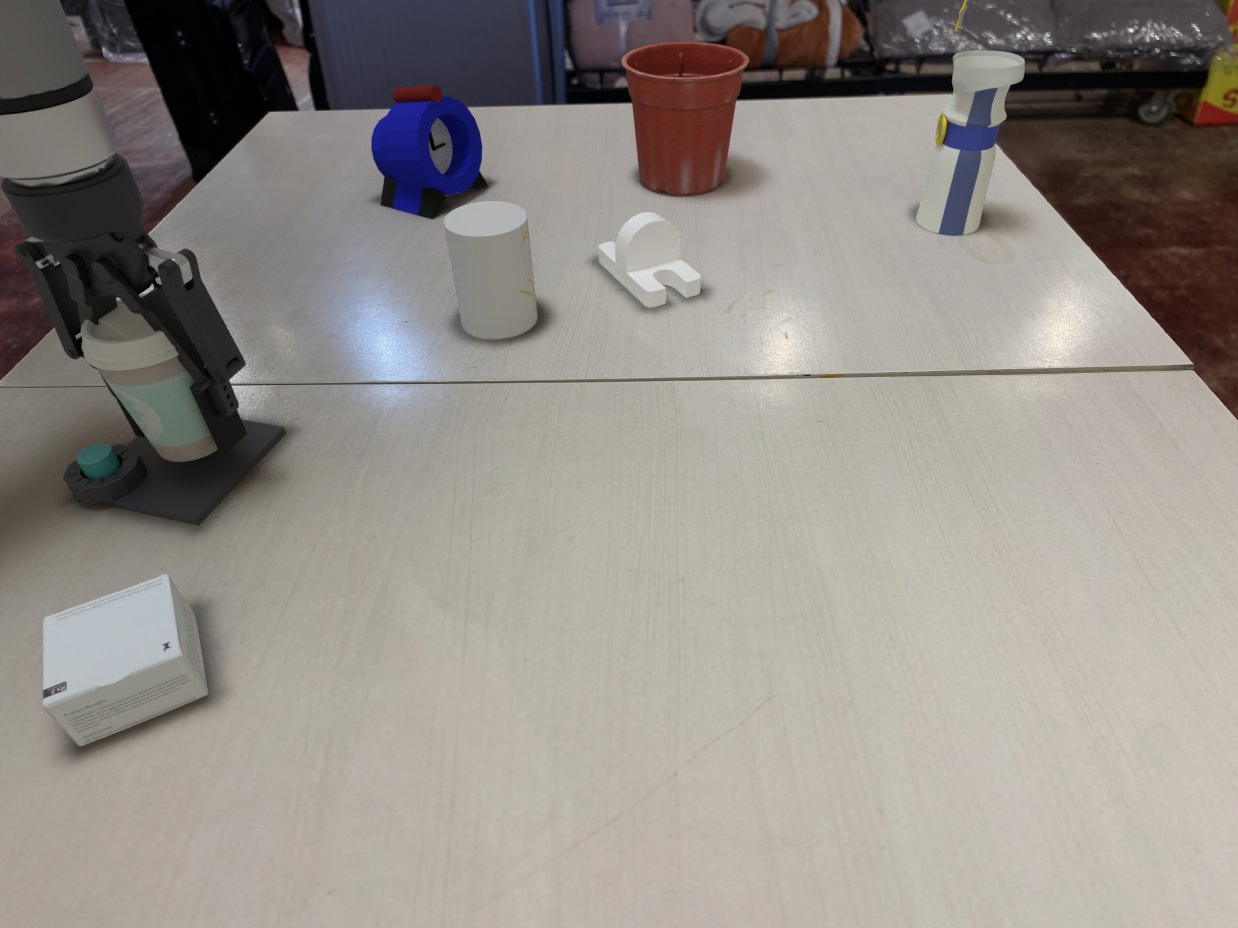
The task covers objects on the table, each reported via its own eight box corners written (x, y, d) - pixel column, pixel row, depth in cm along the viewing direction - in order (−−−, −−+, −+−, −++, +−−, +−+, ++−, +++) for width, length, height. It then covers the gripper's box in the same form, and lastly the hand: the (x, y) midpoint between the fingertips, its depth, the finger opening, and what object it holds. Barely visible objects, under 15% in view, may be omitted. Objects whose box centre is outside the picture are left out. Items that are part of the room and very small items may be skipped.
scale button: (78, 476, 65) (68, 460, 64) (102, 456, 67) (92, 440, 66) (104, 482, 65) (94, 466, 64) (127, 461, 67) (118, 445, 65)
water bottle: (915, 235, 100) (968, 10, 84) (909, 207, 106) (957, -8, 90) (985, 239, 99) (1052, 11, 82) (975, 210, 105) (1035, -7, 89)
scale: (65, 508, 66) (47, 482, 64) (171, 417, 75) (158, 391, 74) (195, 538, 63) (180, 510, 61) (288, 439, 73) (278, 412, 71)
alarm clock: (436, 220, 107) (414, 101, 97) (369, 202, 112) (342, 88, 102) (493, 187, 115) (478, 75, 105) (428, 172, 120) (408, 63, 110)
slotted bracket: (703, 298, 90) (706, 233, 85) (648, 314, 87) (648, 247, 82) (647, 252, 99) (647, 190, 93) (596, 265, 96) (593, 202, 91)
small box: (198, 617, 57) (170, 569, 54) (213, 701, 52) (183, 654, 49) (77, 662, 55) (40, 614, 51) (80, 755, 50) (38, 709, 46)
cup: (547, 334, 85) (537, 227, 77) (472, 352, 83) (454, 243, 75) (525, 299, 91) (514, 195, 83) (454, 314, 88) (435, 209, 80)
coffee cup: (143, 423, 70) (79, 301, 62) (246, 400, 72) (197, 280, 65) (136, 484, 64) (64, 358, 56) (248, 458, 66) (194, 333, 58)
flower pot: (708, 213, 107) (715, 84, 96) (602, 190, 113) (598, 67, 103) (757, 170, 117) (768, 50, 107) (657, 152, 124) (658, 37, 113)
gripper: (229, 156, 53) (321, 427, 68) (-12, 134, 58) (124, 391, 73) (150, 202, 48) (269, 484, 63) (-109, 173, 53) (59, 442, 68)
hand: (191, 434), depth 68 cm, fingers closed on coffee cup, 8 cm apart
